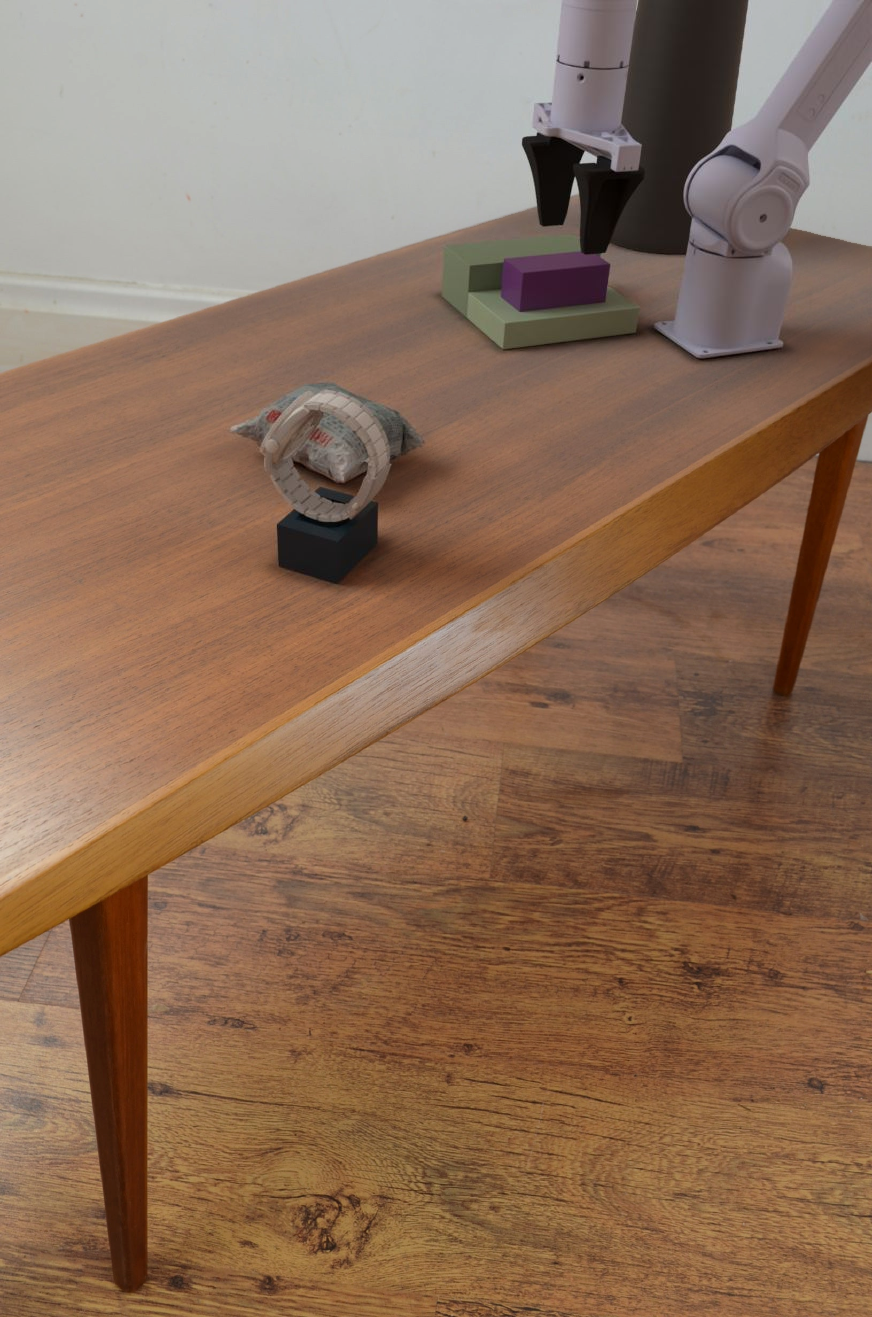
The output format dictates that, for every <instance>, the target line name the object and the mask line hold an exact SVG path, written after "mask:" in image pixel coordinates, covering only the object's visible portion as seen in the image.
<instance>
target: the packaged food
mask: <svg viewBox="0 0 872 1317" xmlns="http://www.w3.org/2000/svg"><path fill="white" fill-rule="evenodd" d="M326 389H327V390H332V391H337V393H338V392H342V393H345V394H347V395H349V396H350V397H354V398H355V399H357V400H359V401H360V402H361V403H362V404H363V405H365V406H366V407H367V408H368V409H369V410H370V411H371V412H372V413H373V414H374V416H375V417H376V418H377V419H378V421H379V422H380V424H381V426H382V428H383V430H384V432H385V434H386V436H387V440H388V443H387V444H389V448H390V455H389V456H390V461H389V462H391V461H393V460H396V459H397V458H399V457H401V456H402V457H403V456H405V455H407V454H408V453H410V451H412V450H416V449H417V448H418V447H419V448H422V447H423V445H424V444H425V439H423V438H422V437H421V435H420V434H419V433H418V432H417V431H416V429H415V428H414V427H413V425H412V424H411V423H410V422H409V421H408V420H407V419H406V418H405V417H404V416H403V415H402V414H401V413H400V412H399V411H398V410H396V409H394V408H391V407H388V406H385V405H383V404H381V403H379V402H375V401H373V400H371V399H369V398H365V397H363V396H361V395H357V394H355V393H352V392H351V391H349V390H348V389H345V388H343V387H341V386H340V385H338V384H336V383H333V382H331V381H330V382H329V381H324V382H323V381H322V382H314V383H313V382H312V383H308V384H304V385H302V386H300V387H298V388H296V389H294V390H293V391H290V392H288V393H287V394H284V395H283V396H281V397H280V398H279V399H278V400H275V401H274V402H272V403H271V404H269V405H267V406H266V407H264V408H263V409H262V410H261V411H260V412H259V413H258V415H256V416H255V417H253V418H249V419H247V420H246V421H244V422H241V423H238V424H234V425H233V426H231V427H230V429H229V432H230V433H231V434H233V435H234V434H236V435H239V436H241V437H242V438H245V439H250V440H252V441H254V442H255V444H256V445H257V446H258V447H259V448H260V447H261V444H262V442H263V440H264V438H265V436H266V435H267V433H268V432H269V430H270V429H271V427H272V426H273V424H274V423H275V422H276V420H277V419H278V418H279V417H280V415H281V414H282V413H283V412H284V411H285V410H286V409H287V407H288V406H289V405H290V404H291V403H292V402H293V401H294V400H296V399H297V398H298V397H299V396H300V395H302V394H303V393H305V392H307V391H311V392H313V393H314V396H315V395H316V394H318V393H319V392H321V391H323V390H326ZM358 416H359V415H358ZM358 416H357V417H358ZM374 416H373V417H374ZM373 417H372V418H373ZM372 418H371V419H372ZM345 421H346V420H345ZM345 421H342V420H341V419H339V418H337V417H335V416H334V415H333V413H332V414H329V413H326V412H324V414H323V417H322V419H321V421H320V423H319V424H318V426H317V427H316V429H315V430H314V432H313V433H312V434H311V436H310V437H309V438H308V439H307V441H306V442H305V443H304V444H303V445H302V446H301V448H300V449H299V450H298V451H297V453H296V455H295V456H294V457H291V459H292V461H293V462H295V463H299V464H302V465H303V466H304V467H305V468H307V470H309V471H311V472H313V473H316V474H319V475H322V476H325V477H326V478H328V479H330V480H332V481H333V482H335V483H337V484H339V483H341V484H344V483H346V482H348V481H351V480H352V479H354V478H356V477H358V476H359V475H361V474H363V473H365V472H366V473H367V471H368V464H369V463H370V457H371V456H369V454H368V452H367V449H366V447H365V444H366V443H367V442H366V443H363V442H362V440H361V439H360V437H359V436H358V435H357V433H356V432H357V431H354V430H353V429H352V428H350V427H349V426H348V425H347V424H346V422H345ZM371 426H372V425H371ZM369 427H370V426H369ZM369 427H368V428H369ZM368 428H367V429H368ZM367 429H366V430H367ZM358 430H359V429H358ZM366 430H365V431H366Z"/></svg>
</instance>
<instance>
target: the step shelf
mask: <svg viewBox="0 0 872 1317" xmlns="http://www.w3.org/2000/svg"><path fill="white" fill-rule="evenodd" d="M577 251H581V247H580V237H577V236H575V235H574V234H572V233H566V234H565V233H564V234H555V235H545V236H534V237H523V238H512V239H511V238H510V239H499V240H489V241H479V242H478V241H477V242H468V243H467V242H466V243H456V244H446V245H444V246H443V262H442V263H443V264H442V280H441V281H442V285H441V297H442V298H443V299H444V300H446V301H447V302H448V303H449V304H450V305H451V306H452V307H454V308H455V309H456V310H457V311H458V312H459V313H460V314H462V315H463V316H464V317H465V318H466V319H467V320H468V321H470V322H471V323H472V324H473V325H474V326H475V327H476V328H478V329H479V330H480V331H481V333H483V334H484V335H485V336H487V337H488V338H489V339H490V340H492V342H493V343H494V344H496V345H497V346H498V347H500V349H501V350H508V349H510V350H511V349H519V348H525V347H534V346H540V345H541V346H542V345H548V344H549V345H550V344H551V345H552V344H558V343H566V342H574V341H581V340H590V339H597V338H598V339H599V338H606V337H613V336H614V337H615V336H622V335H629V334H636V333H637V330H638V329H637V328H638V323H639V322H638V321H639V314H640V310H641V309H640V308H641V306H639V305H637V304H636V303H634V302H633V301H631V300H630V299H628V298H627V297H626V296H624V295H623V294H621V293H620V292H618V291H617V290H615V289H613V288H612V287H611V286H609V285H608V286H607V293H606V300H605V302H602V303H593V304H584V305H576V306H567V307H558V308H550V309H541V310H532V311H523V312H519V311H518V310H517V309H515V308H514V307H513V306H512V305H510V304H509V303H508V302H507V301H505V300H504V299H503V298H502V297H501V288H502V276H503V263H504V259H505V258H515V257H525V256H536V255H546V254H557V253H567V252H577ZM596 255H597V256H599V257H600V258H601V255H602V253H599V254H596Z"/></svg>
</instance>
